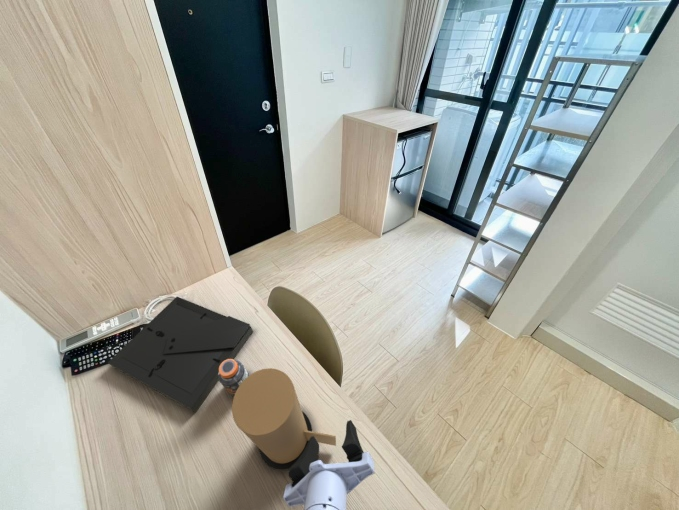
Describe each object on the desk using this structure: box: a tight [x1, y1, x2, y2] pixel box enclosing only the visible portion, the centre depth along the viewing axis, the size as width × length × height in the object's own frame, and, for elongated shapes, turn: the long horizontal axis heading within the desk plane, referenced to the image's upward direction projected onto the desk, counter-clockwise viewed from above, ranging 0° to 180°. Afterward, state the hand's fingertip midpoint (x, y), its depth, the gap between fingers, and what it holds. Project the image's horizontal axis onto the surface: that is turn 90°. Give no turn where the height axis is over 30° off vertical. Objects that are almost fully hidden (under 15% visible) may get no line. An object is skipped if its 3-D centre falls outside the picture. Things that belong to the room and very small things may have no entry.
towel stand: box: [258, 410, 313, 472], centre depth 61 cm, size 12×12×1 cm
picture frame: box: [107, 296, 254, 413], centre depth 75 cm, size 23×4×28 cm
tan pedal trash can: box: [231, 367, 337, 464], centre depth 51 cm, size 10×16×24 cm, turn 81°
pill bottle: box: [218, 359, 250, 398], centre depth 65 cm, size 6×6×11 cm
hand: (333, 432), depth 48 cm, fingers open, 7 cm apart
